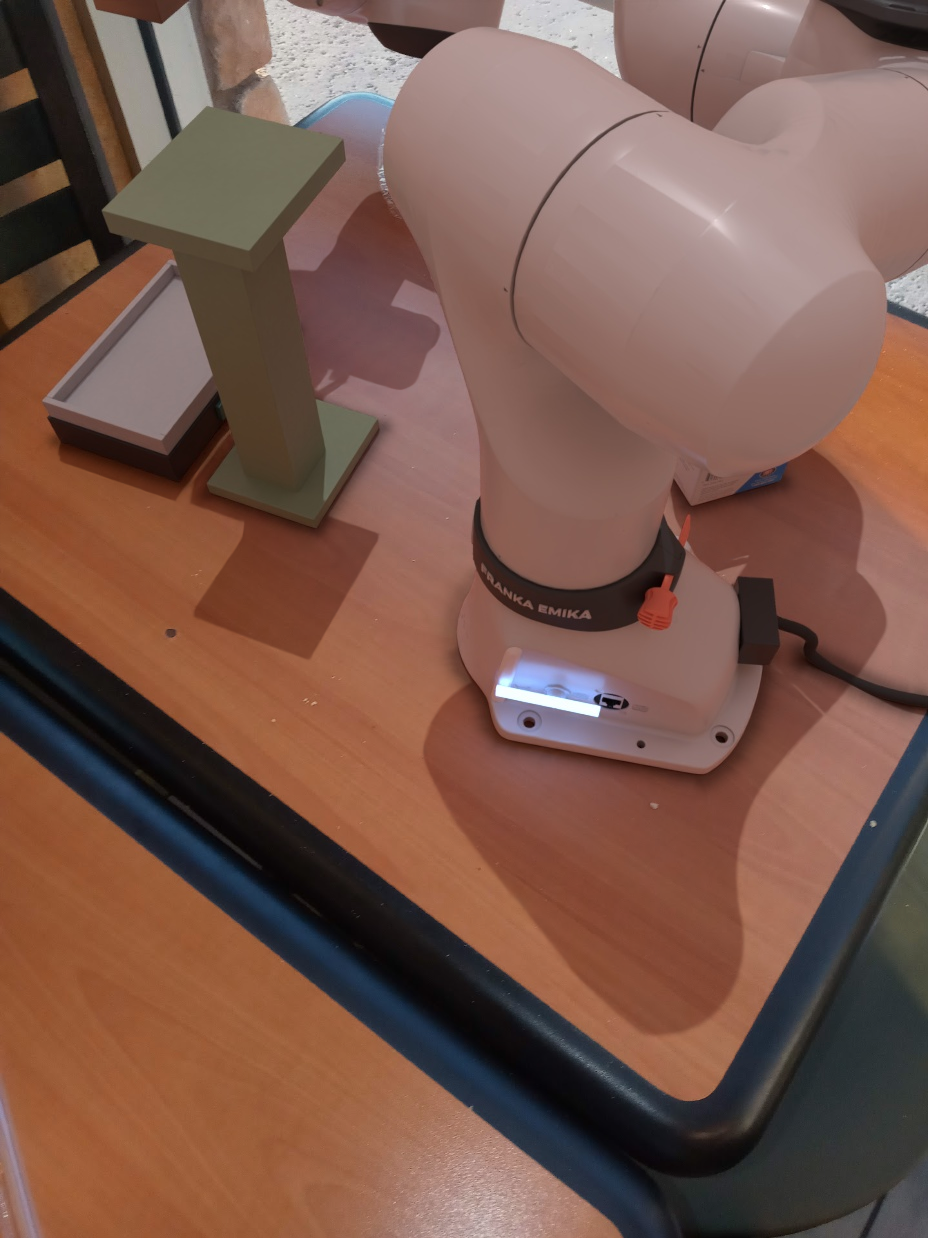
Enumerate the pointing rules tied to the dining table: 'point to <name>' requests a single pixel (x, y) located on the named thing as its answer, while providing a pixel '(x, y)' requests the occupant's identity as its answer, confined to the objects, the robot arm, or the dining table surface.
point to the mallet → (141, 8)
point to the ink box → (719, 482)
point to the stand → (250, 299)
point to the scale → (142, 386)
